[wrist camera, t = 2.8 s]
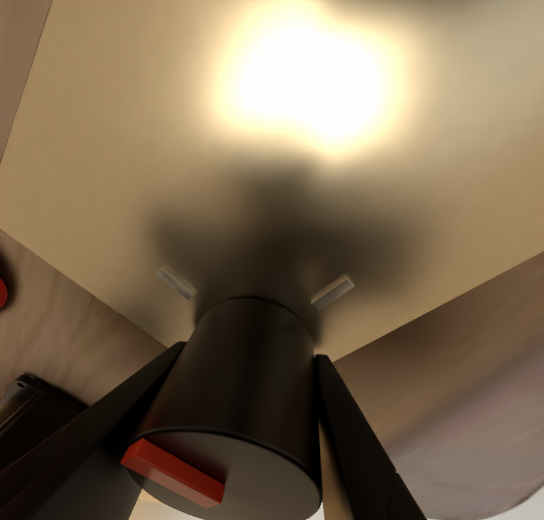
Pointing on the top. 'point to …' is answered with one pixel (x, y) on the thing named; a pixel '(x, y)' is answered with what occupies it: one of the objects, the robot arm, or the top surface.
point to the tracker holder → (2, 293)
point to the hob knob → (235, 420)
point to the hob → (281, 156)
